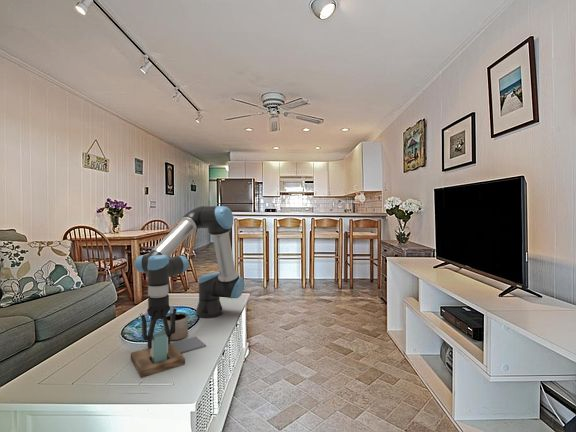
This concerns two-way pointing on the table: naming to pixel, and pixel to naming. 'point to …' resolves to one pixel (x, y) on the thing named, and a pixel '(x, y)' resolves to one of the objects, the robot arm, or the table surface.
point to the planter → (179, 326)
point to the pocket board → (146, 367)
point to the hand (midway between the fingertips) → (159, 353)
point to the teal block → (159, 347)
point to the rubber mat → (188, 344)
